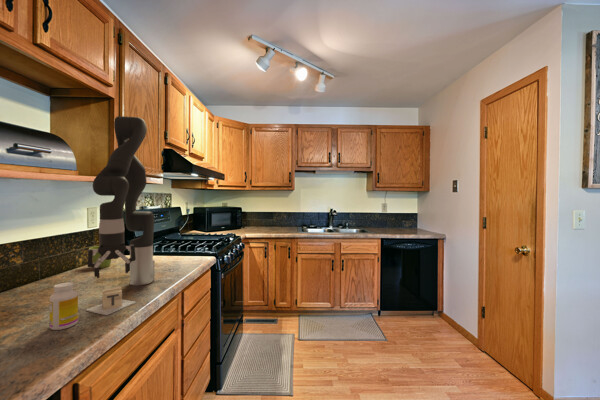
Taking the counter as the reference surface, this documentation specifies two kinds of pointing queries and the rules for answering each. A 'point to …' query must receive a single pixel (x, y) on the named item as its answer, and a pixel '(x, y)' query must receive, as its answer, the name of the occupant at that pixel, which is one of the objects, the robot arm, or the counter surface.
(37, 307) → the counter surface
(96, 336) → the counter surface
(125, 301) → the mat
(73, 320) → the supplement bottle
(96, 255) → the plant pot
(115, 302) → the tan cube block
